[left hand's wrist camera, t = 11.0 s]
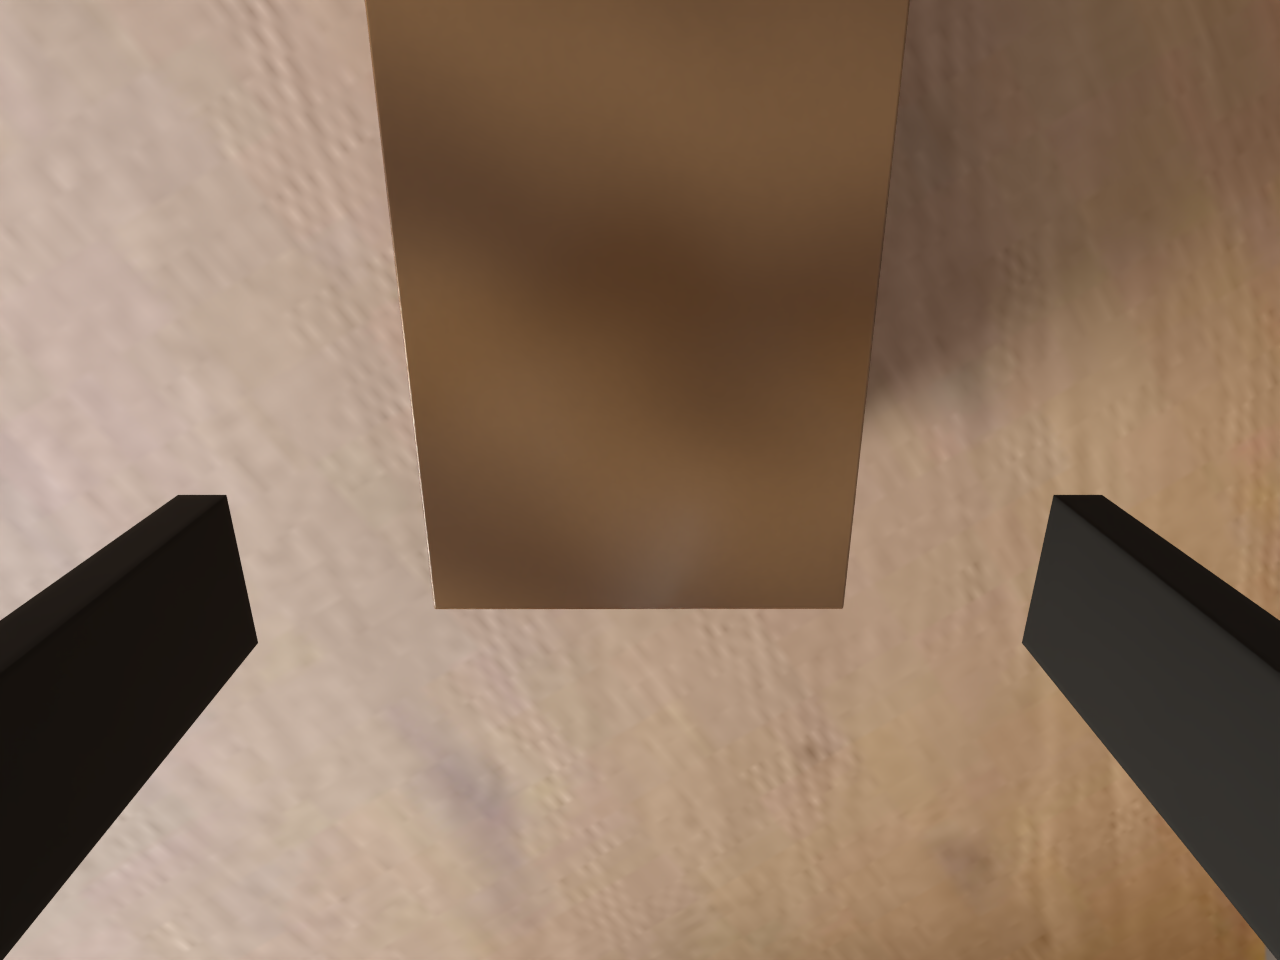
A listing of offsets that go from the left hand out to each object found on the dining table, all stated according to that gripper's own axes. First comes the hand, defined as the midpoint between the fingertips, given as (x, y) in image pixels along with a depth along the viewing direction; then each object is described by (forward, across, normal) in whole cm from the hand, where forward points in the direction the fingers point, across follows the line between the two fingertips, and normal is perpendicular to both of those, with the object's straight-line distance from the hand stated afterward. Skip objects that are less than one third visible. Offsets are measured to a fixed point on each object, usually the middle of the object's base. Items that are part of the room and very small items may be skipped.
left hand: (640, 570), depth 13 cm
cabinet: (+17, 0, -5) cm, 18 cm away
